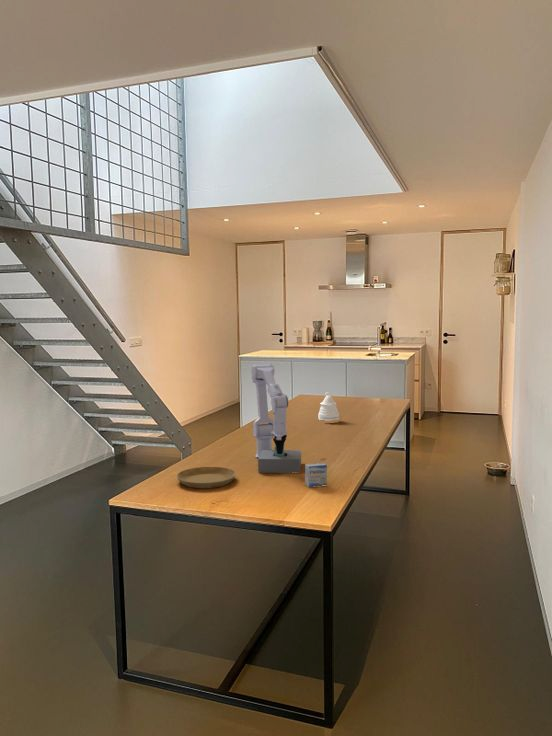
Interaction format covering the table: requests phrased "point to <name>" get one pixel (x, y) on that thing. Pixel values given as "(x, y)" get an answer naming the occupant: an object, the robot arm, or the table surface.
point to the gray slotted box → (279, 462)
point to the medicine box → (315, 474)
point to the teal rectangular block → (279, 454)
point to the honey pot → (328, 409)
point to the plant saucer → (206, 477)
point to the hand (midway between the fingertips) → (280, 452)
